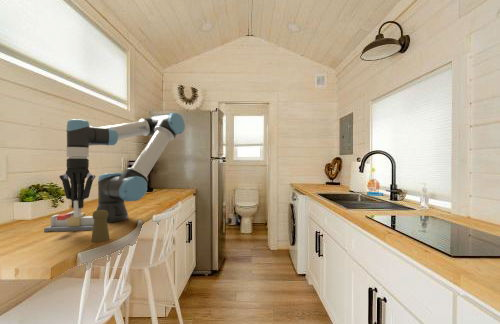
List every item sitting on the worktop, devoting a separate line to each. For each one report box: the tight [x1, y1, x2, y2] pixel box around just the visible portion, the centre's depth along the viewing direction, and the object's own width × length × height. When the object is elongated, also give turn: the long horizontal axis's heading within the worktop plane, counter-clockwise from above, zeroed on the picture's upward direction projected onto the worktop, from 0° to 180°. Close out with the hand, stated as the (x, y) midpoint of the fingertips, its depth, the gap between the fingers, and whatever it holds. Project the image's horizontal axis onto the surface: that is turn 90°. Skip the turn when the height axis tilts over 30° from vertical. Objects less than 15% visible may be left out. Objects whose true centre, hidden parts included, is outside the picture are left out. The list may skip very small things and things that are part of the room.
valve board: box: [43, 212, 94, 233], centre depth 116 cm, size 20×10×6 cm, turn 99°
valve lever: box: [57, 210, 74, 220], centre depth 110 cm, size 3×14×2 cm, turn 9°
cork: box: [90, 209, 110, 243], centre depth 99 cm, size 6×6×11 cm
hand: (77, 216), depth 107 cm, fingers closed
